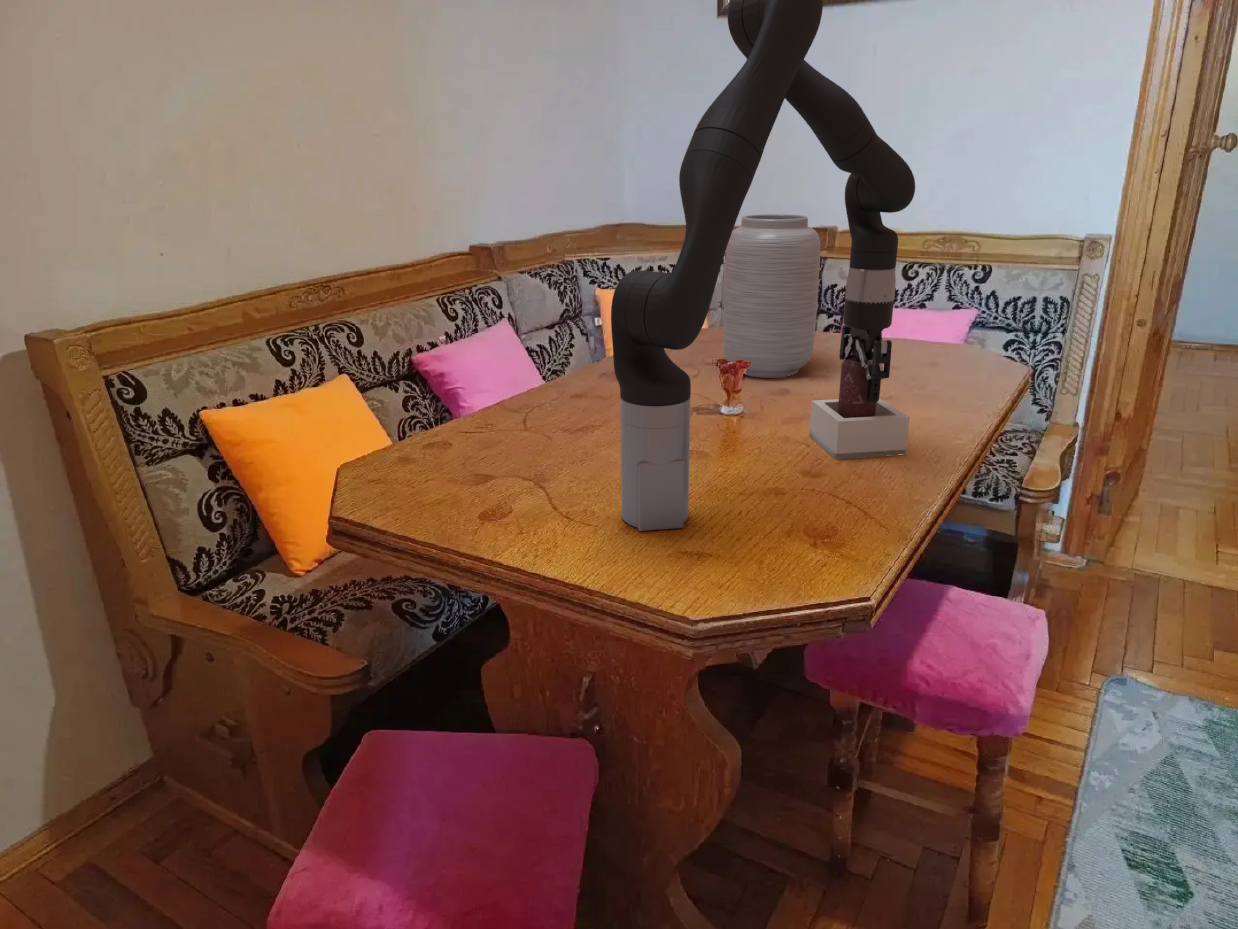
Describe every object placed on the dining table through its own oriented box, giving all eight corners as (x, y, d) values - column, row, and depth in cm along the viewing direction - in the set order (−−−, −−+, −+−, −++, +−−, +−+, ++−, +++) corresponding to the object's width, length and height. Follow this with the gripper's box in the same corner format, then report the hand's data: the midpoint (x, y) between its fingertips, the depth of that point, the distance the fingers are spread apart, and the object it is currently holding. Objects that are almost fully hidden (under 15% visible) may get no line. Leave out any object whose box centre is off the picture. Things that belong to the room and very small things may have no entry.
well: (905, 455, 138) (909, 417, 136) (835, 459, 137) (838, 421, 135) (874, 432, 150) (877, 396, 147) (809, 436, 148) (811, 400, 146)
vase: (743, 385, 180) (750, 221, 168) (708, 363, 198) (712, 214, 186) (828, 377, 185) (841, 218, 173) (787, 357, 203) (796, 211, 191)
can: (876, 446, 140) (884, 363, 135) (836, 444, 141) (843, 362, 136) (872, 434, 145) (880, 354, 140) (834, 433, 146) (841, 353, 141)
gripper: (912, 303, 128) (901, 405, 134) (872, 288, 141) (864, 382, 147) (865, 304, 127) (856, 408, 133) (830, 290, 140) (822, 384, 146)
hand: (860, 394), depth 140 cm, fingers open, 8 cm apart
